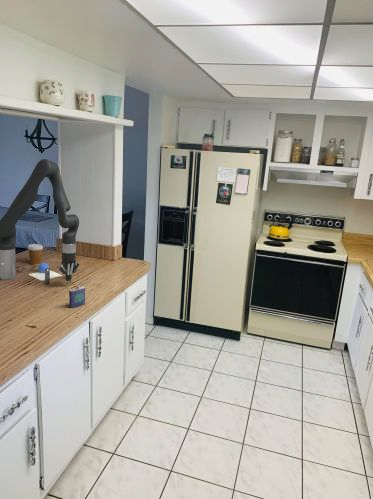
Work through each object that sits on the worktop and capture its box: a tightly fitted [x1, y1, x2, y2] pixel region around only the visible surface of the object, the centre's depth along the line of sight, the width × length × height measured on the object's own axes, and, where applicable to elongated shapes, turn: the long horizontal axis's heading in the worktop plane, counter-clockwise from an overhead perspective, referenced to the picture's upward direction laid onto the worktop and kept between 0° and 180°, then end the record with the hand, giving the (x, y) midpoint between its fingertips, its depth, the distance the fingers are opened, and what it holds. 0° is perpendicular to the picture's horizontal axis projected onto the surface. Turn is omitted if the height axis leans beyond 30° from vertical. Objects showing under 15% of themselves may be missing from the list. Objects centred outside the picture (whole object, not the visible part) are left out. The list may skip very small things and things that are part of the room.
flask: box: [68, 284, 86, 309], centre depth 191 cm, size 9×3×11 cm, turn 144°
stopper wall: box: [17, 264, 40, 273], centre depth 240 cm, size 18×2×2 cm, turn 141°
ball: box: [37, 262, 50, 273], centre depth 236 cm, size 6×6×6 cm
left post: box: [44, 267, 51, 286], centre depth 217 cm, size 3×3×9 cm
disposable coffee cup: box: [27, 243, 44, 265], centre depth 251 cm, size 10×10×12 cm
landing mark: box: [28, 270, 63, 281], centre depth 232 cm, size 14×14×1 cm
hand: (68, 280), depth 216 cm, fingers closed
